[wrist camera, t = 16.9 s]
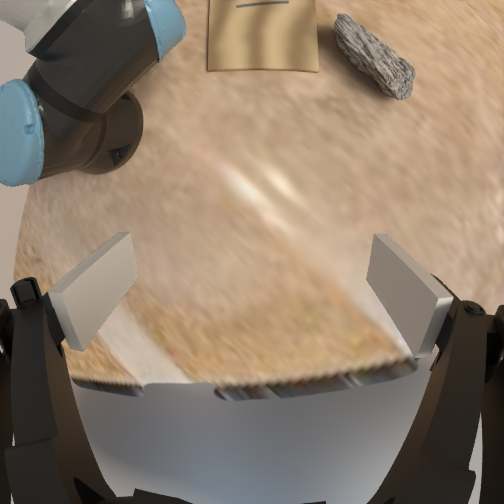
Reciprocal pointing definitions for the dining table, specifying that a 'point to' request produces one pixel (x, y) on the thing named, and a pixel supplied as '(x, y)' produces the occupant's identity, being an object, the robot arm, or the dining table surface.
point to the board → (263, 35)
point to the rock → (374, 58)
